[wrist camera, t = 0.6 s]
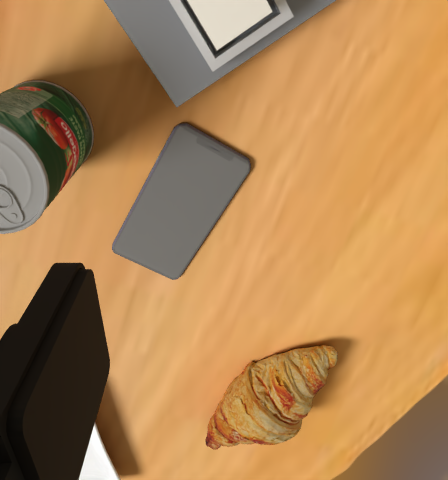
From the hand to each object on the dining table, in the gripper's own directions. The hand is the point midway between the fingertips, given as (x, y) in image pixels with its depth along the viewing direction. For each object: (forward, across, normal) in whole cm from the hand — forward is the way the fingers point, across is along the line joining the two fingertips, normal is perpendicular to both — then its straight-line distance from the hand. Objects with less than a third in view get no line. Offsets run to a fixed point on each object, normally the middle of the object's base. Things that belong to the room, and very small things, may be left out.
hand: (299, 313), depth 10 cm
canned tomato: (+29, +16, +4) cm, 33 cm away
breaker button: (+24, +1, -6) cm, 24 cm away
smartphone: (+29, +6, +11) cm, 32 cm away
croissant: (+29, -4, +36) cm, 46 cm away
